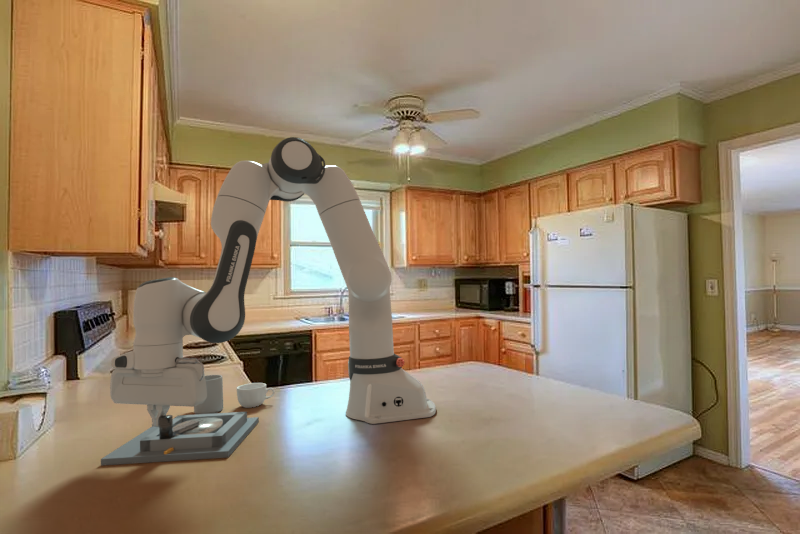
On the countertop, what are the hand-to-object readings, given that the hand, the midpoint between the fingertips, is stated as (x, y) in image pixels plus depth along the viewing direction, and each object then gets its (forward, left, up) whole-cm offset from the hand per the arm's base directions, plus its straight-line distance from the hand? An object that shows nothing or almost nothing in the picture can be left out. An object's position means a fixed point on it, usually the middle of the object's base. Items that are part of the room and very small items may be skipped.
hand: (158, 426), depth 87 cm
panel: (-3, -6, -6) cm, 9 cm away
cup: (+3, -29, -6) cm, 30 cm away
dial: (-4, -4, -4) cm, 7 cm away
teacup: (-10, -32, -6) cm, 34 cm away
